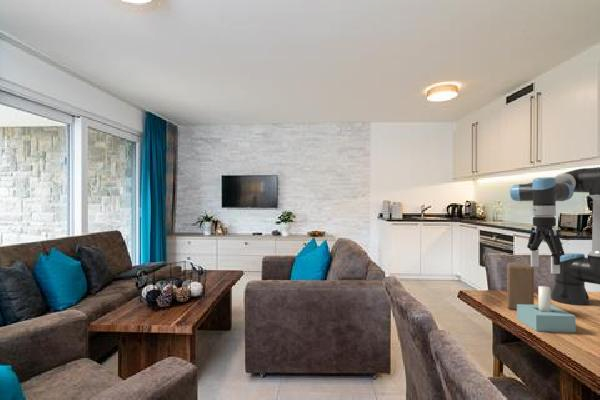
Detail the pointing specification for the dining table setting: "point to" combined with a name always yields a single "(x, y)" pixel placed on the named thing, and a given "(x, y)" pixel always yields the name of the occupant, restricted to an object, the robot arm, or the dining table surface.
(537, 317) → the socket
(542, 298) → the peg
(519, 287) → the wooden block
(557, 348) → the dining table surface
